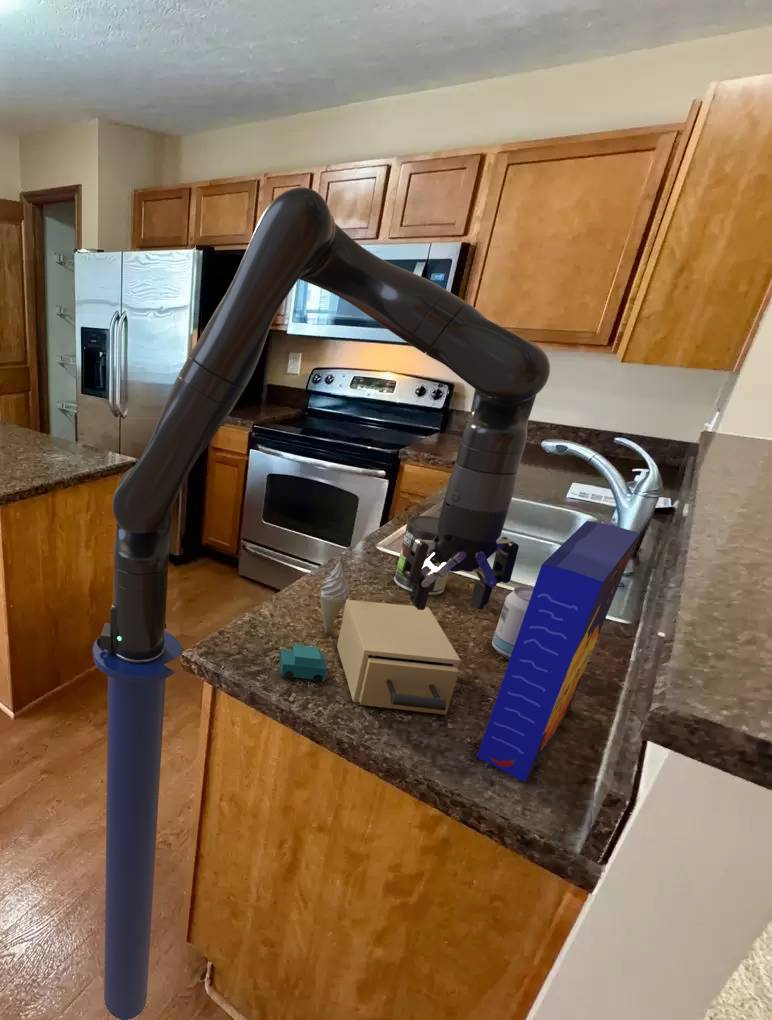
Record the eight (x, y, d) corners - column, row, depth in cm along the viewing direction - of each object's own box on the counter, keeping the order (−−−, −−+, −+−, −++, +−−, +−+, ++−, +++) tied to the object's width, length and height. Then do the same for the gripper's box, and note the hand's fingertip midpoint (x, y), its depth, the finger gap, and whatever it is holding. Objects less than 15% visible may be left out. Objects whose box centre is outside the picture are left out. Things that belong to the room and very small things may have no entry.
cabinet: (445, 712, 91) (461, 660, 87) (353, 701, 93) (364, 650, 89) (416, 654, 105) (429, 607, 101) (336, 646, 107) (346, 599, 103)
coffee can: (409, 596, 125) (424, 534, 119) (384, 574, 134) (397, 515, 128) (455, 594, 126) (472, 533, 120) (427, 572, 135) (442, 514, 129)
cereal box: (525, 782, 78) (603, 579, 66) (476, 757, 82) (542, 562, 70) (568, 709, 92) (640, 531, 80) (525, 691, 96) (587, 518, 84)
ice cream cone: (346, 635, 110) (361, 562, 104) (328, 643, 108) (342, 569, 102) (324, 622, 114) (337, 551, 108) (306, 630, 111) (319, 558, 105)
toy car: (324, 683, 97) (328, 661, 95) (280, 678, 98) (284, 656, 96) (321, 667, 101) (325, 646, 99) (278, 662, 102) (282, 641, 100)
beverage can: (530, 670, 102) (552, 609, 97) (485, 653, 106) (504, 594, 101) (538, 653, 106) (560, 594, 101) (495, 638, 110) (514, 580, 106)
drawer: (457, 738, 85) (471, 693, 81) (366, 727, 86) (377, 682, 83) (418, 659, 102) (429, 620, 99) (343, 651, 104) (351, 612, 101)
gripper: (510, 490, 82) (479, 594, 88) (410, 489, 81) (386, 594, 88) (548, 510, 75) (511, 620, 82) (439, 509, 74) (411, 621, 81)
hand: (446, 607), depth 85 cm, fingers open, 8 cm apart
